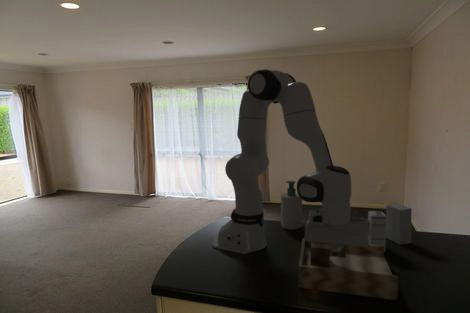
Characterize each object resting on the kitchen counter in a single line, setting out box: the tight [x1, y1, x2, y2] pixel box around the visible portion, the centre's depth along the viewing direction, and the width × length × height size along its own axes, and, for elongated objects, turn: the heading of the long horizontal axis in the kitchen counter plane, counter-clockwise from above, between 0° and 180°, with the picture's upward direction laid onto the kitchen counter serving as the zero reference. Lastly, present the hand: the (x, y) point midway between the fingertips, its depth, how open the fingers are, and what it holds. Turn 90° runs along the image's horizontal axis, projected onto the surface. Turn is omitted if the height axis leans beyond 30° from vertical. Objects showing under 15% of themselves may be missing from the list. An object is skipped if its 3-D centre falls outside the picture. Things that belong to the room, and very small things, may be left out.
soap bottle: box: [280, 180, 303, 231], centre depth 145 cm, size 10×9×22 cm
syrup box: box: [367, 210, 387, 252], centre depth 120 cm, size 6×6×14 cm
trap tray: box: [297, 238, 400, 301], centre depth 101 cm, size 28×22×7 cm
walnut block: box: [311, 243, 330, 267], centre depth 102 cm, size 6×6×5 cm
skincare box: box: [385, 203, 412, 246], centre depth 127 cm, size 8×6×15 cm
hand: (335, 255), depth 101 cm, fingers closed
